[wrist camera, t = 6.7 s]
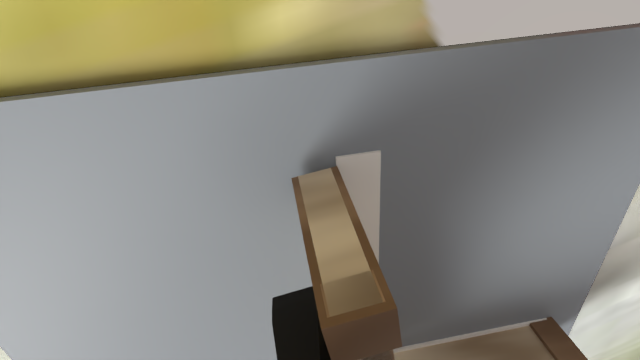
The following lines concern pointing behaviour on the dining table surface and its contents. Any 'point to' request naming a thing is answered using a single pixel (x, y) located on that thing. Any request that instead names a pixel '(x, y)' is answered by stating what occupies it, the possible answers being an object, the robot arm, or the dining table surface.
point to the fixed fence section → (504, 346)
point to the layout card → (280, 204)
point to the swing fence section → (344, 272)
